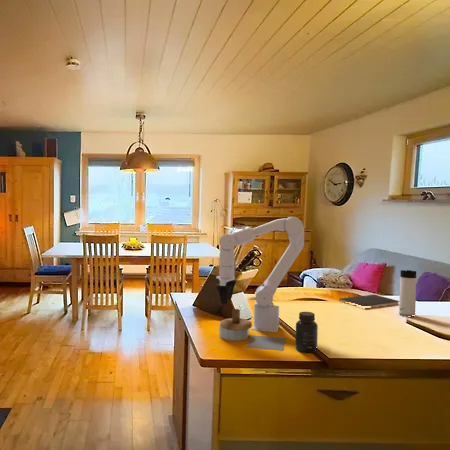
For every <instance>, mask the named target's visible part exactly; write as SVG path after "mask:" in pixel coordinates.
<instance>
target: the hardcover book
mask: <svg viewBox="0 0 450 450" xmlns="http://www.w3.org/2000/svg"><path fill="white" fill-rule="evenodd" d="M339 301H342V302H341V303H343V302H351V303H355V304H358V305H361V306H371V307H376V308H379V307H378V306H384V307H388V306H387V305H391V306H396V305H399V300H397V299H393V298H389V297H385V296H382V295H377V294H368V295H367V294H366V295H359V296H348V297H343V298H342V297H341V298H339ZM339 301H338V302H339Z"/></svg>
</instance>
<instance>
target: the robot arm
mask: <svg viewBox="0 0 450 450" xmlns="http://www.w3.org/2000/svg"><path fill="white" fill-rule="evenodd" d="M273 231H279V232H286V234H287V236H288V240H289V244H288V246H287V248H286V250H285V251H284V252H283V254H282V256H281V257H280V259H279V260H278V262H277V263H276V264H275V266H274V267H273V269H272V271H271V272H270V274H269V275H268V277H267V278H266V279H265V280H264V281H263V283H262V284H260V285H259V286H257V288H256V289H255V302H254V304H253V324H252V327H251V330H252V331H262V332H273V333H277V332H278V331H279V327H280V306H279V305H275V304H274V302H273V300H274V295H275V294H276V292H277V290H278V287H279V285H280V284H281V282H282V280H283V279H284V277H285V276H286V274H288V273H287V272H289V270H290V268H291V267H292V265H293V264H294V262H295V260H296V259H297V257H298V256H299V255H300V253H301V251H302V250H303V248H304V246H305V227H304V224H303V221H302V220H301V219H300V218H298V217H296V216H288V217H287V218H286V217H284V218H278V219H274V220H272V221H270V222H266V223H264V224H262V225H258V226H256V227H253V228H252V227H251V226H245V225H244V226H241V228H240V229H236V230H234V231H233V230H230V231H229V233H225V234H222V235H221V236H220V238H219V241H218V243H219V247H220V248H219V259H218V260H219V263H218V264H219V265H218V266H219V268H218V269H219V273H218V274H219V275H217V276H216V277H215V278H216V279H217V280H218V281H219V283H216V285H215V287H216V289H217V291H218V294H219V299H220V303H221V304H223V305H224V304H225V305H227V304H228V301H229V300H232V298H233V294H234V293H233V292H234V290H235V289H234V288H235V285H236V283H237V281H238V280H236V277H235V260H236V259H235V256H236V255H235V246H236V247H239V246H242V245H245V244H247V243H250V242H253V241H254V240H255V238H256V237H257V236H261V235H264V234H267V233H270V232H273Z"/></svg>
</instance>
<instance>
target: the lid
mask: <svg viewBox="0 0 450 450" xmlns="http://www.w3.org/2000/svg"><path fill="white" fill-rule="evenodd" d="M231 311H232V314H231V315H232V317H231V318H225V319H222V320H221V321H220V322H219V323H220V324H219V325H220V326H221V327H222V328H224V329H227V330H236V331H238V330H246V329H252V327H253V324H252V321H251V320H249V319H245V318H240V317H241V311H240V309H238V308H233V309H232V310H231Z"/></svg>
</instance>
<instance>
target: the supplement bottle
mask: <svg viewBox="0 0 450 450" xmlns="http://www.w3.org/2000/svg"><path fill="white" fill-rule="evenodd" d="M315 319H316V316H315V313H314V312H311V311H300V312H299V313H298V320H297V321H296V323H295V350H296V351H297V352H299V353H303V354H314V353H316V352H315V350H316V347H317V348H318V333H319V331H318V330H319V328H318V327H319V326H318V324H317V322H316V321H315Z"/></svg>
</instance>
